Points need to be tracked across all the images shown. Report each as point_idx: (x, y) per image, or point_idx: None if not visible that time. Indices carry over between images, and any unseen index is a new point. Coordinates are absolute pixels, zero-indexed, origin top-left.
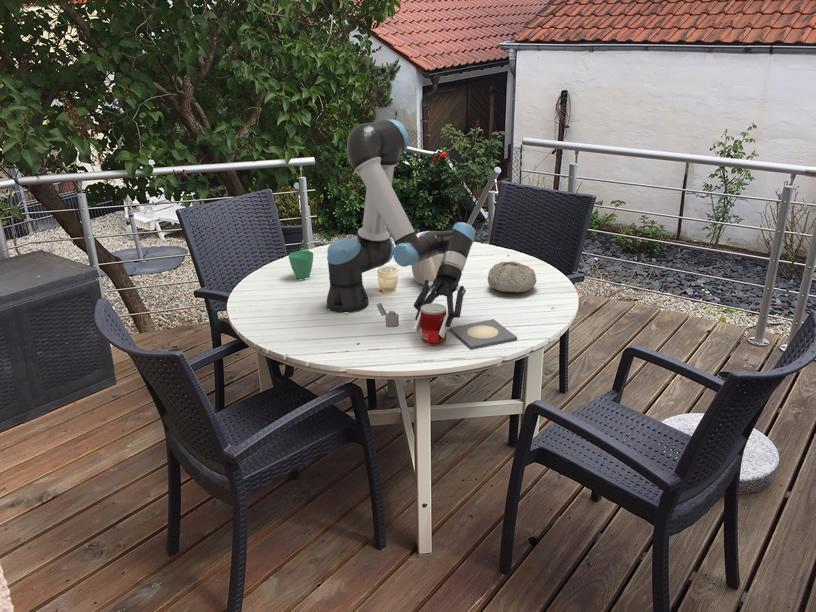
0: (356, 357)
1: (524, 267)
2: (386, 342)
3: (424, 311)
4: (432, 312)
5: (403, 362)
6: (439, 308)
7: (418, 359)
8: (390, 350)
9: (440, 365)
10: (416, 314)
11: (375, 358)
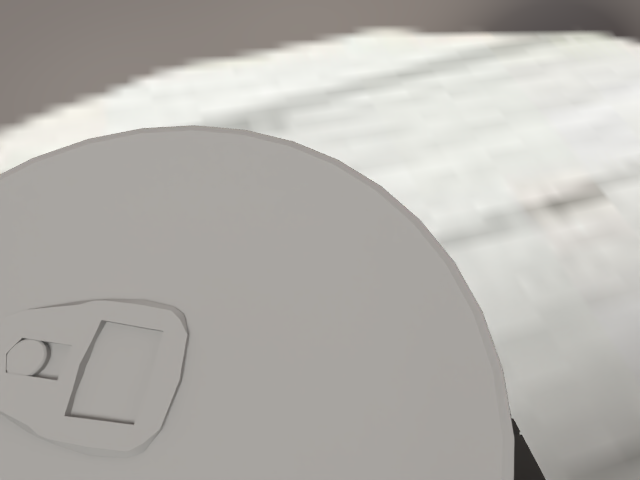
0: (592, 108)
1: None
2: (571, 305)
3: (329, 159)
4: (153, 132)
5: (351, 98)
6: (2, 475)
7: (285, 136)
8: (483, 205)
9: (148, 97)
10: (524, 442)
11: (503, 113)
